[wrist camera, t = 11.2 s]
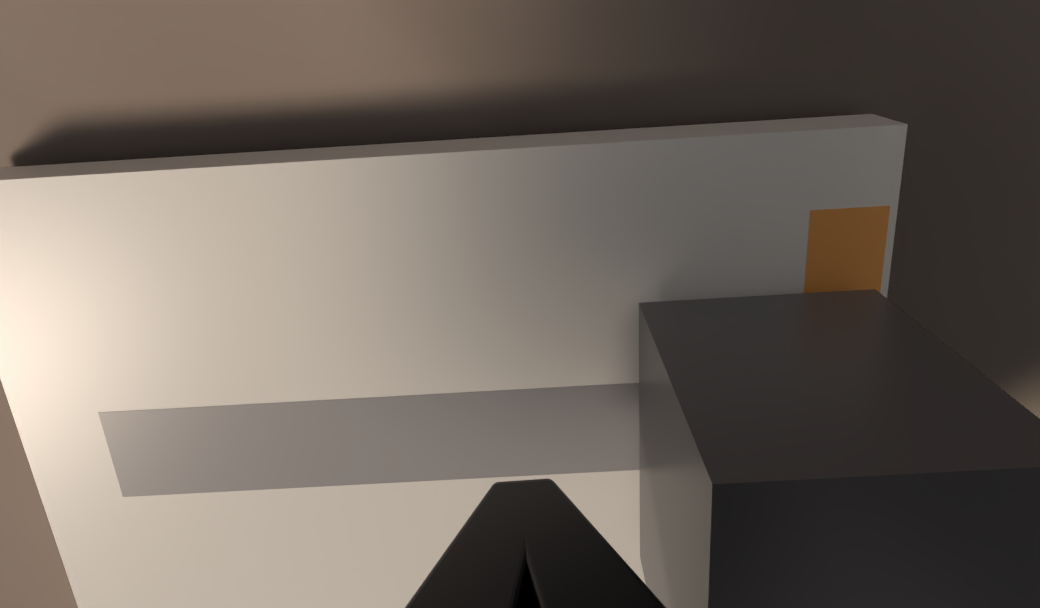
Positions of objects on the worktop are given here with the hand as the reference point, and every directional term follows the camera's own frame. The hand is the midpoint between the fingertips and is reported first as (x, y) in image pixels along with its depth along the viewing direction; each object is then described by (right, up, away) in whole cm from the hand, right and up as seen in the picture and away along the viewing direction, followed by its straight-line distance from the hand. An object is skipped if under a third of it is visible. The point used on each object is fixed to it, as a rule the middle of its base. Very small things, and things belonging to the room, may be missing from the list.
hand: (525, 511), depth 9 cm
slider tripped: (+3, +1, +1) cm, 3 cm away
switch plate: (-1, -3, +4) cm, 5 cm away
